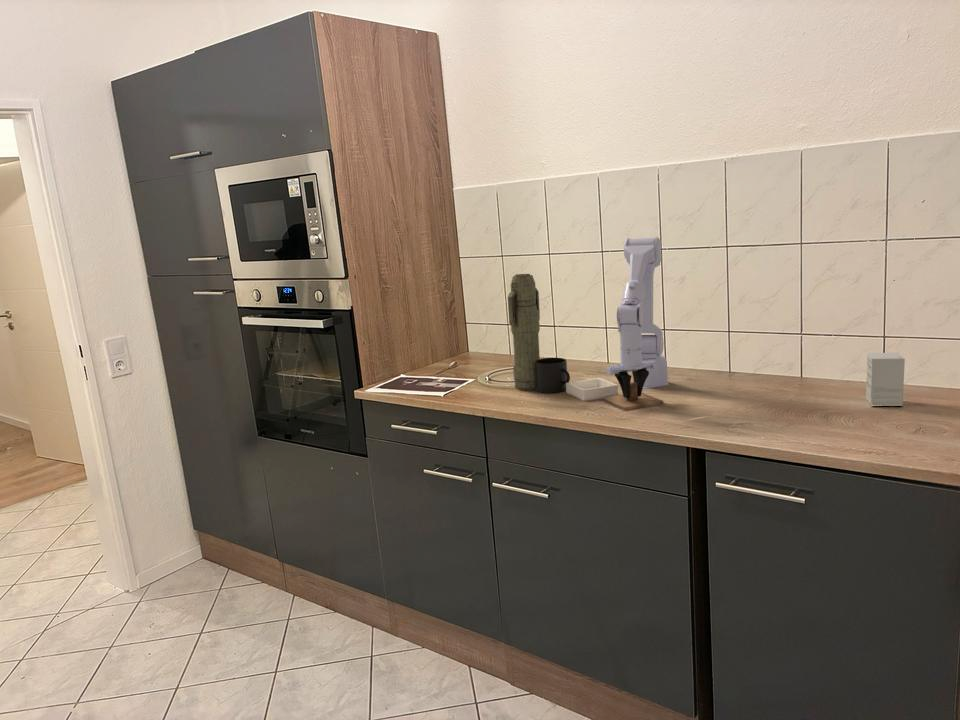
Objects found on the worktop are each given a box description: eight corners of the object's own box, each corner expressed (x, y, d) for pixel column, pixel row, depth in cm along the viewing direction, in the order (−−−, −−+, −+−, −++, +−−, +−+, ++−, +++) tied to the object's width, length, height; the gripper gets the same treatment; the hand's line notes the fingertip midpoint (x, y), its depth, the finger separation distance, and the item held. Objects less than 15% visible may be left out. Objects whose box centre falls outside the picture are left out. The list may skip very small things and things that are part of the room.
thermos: (505, 389, 229) (498, 276, 222) (528, 381, 237) (522, 272, 230) (527, 392, 223) (521, 276, 216) (551, 383, 231) (545, 272, 224)
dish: (599, 389, 221) (598, 377, 220) (618, 396, 211) (617, 384, 210) (566, 394, 217) (565, 382, 217) (583, 402, 207) (583, 390, 206)
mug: (559, 396, 216) (558, 366, 214) (530, 390, 225) (528, 361, 223) (580, 389, 222) (579, 360, 220) (551, 384, 231) (550, 356, 229)
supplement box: (897, 400, 189) (899, 352, 187) (903, 408, 182) (905, 358, 180) (865, 399, 192) (866, 352, 189) (869, 407, 185) (871, 358, 182)
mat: (640, 395, 211) (640, 393, 211) (666, 405, 199) (666, 403, 199) (599, 401, 207) (599, 400, 206) (624, 412, 195) (624, 411, 194)
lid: (639, 394, 210) (639, 376, 209) (663, 403, 199) (663, 384, 198) (602, 400, 206) (601, 382, 205) (624, 410, 195) (624, 391, 194)
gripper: (614, 354, 194) (616, 403, 196) (662, 347, 198) (663, 396, 201) (601, 350, 200) (603, 398, 203) (647, 343, 205) (648, 390, 207)
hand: (632, 396), depth 202 cm, fingers closed on lid, 3 cm apart
